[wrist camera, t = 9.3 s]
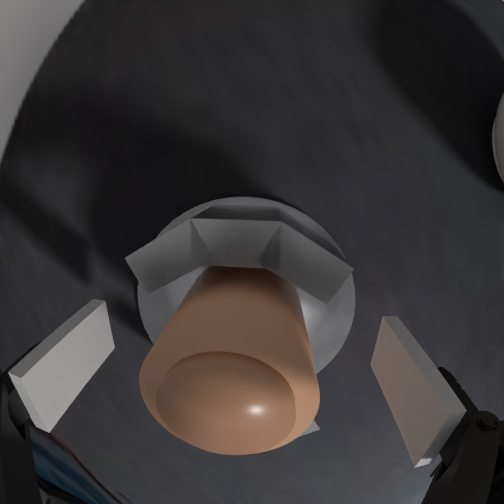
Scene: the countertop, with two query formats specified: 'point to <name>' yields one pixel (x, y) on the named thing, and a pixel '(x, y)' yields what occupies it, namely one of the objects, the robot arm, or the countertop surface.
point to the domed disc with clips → (250, 265)
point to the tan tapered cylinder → (234, 364)
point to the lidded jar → (499, 138)
